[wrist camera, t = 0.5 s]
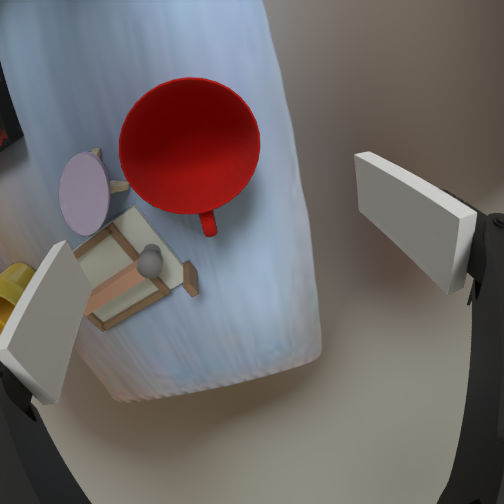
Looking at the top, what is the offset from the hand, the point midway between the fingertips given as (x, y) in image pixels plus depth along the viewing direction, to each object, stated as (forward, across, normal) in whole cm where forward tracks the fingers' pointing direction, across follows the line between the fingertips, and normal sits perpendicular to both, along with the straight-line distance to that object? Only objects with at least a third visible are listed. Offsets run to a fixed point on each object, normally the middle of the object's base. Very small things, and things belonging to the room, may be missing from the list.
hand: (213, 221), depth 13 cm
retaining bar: (+23, -16, -15) cm, 32 cm away
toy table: (+26, -14, -2) cm, 30 cm away
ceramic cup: (+26, -1, -2) cm, 26 cm away
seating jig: (+26, -17, -15) cm, 35 cm away
